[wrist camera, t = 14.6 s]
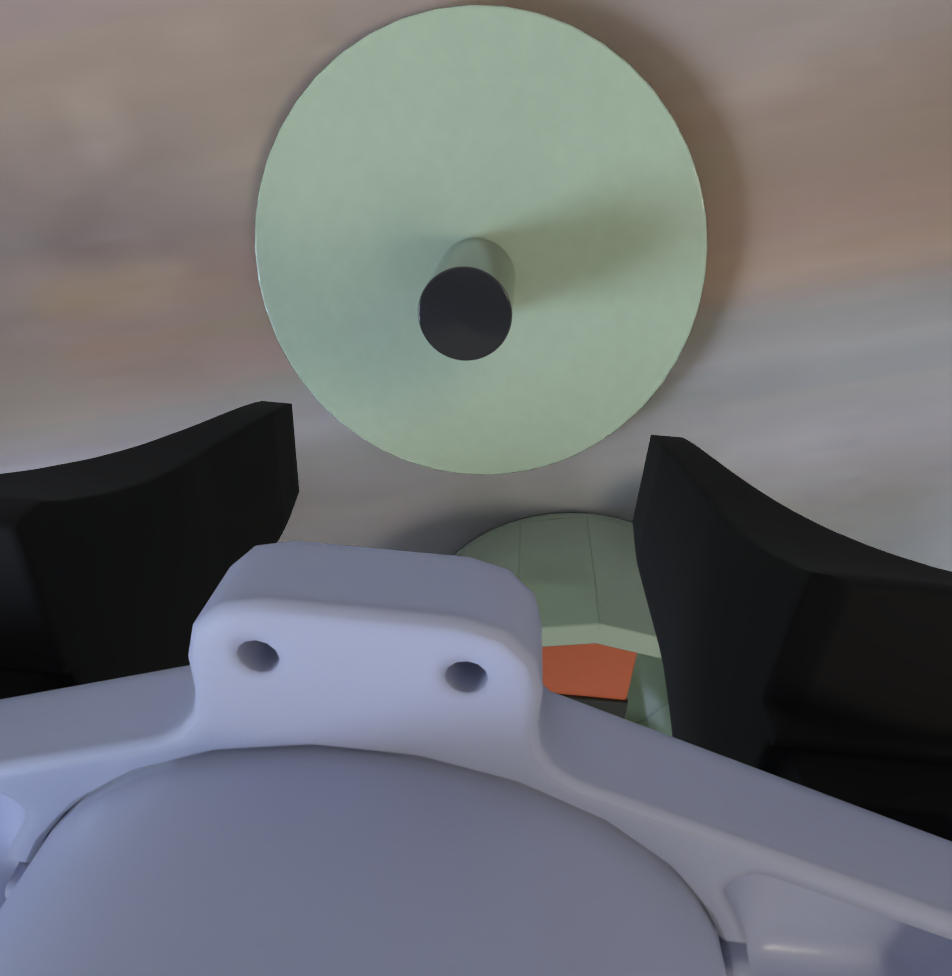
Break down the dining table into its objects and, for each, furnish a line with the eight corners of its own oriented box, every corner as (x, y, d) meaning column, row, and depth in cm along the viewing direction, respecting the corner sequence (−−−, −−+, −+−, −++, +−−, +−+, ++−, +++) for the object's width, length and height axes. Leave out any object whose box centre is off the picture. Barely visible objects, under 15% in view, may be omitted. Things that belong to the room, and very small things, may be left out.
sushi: (530, 579, 27) (530, 641, 24) (629, 587, 27) (641, 651, 24) (516, 696, 30) (514, 764, 27) (604, 704, 30) (612, 774, 27)
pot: (336, 684, 31) (293, 811, 26) (594, 397, 23) (614, 490, 18) (548, 801, 34) (551, 936, 29) (842, 581, 26) (924, 710, 21)
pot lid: (197, 312, 23) (116, 363, 18) (419, -124, 17) (378, -203, 12) (516, 524, 26) (513, 610, 22) (797, 224, 20) (872, 260, 16)
